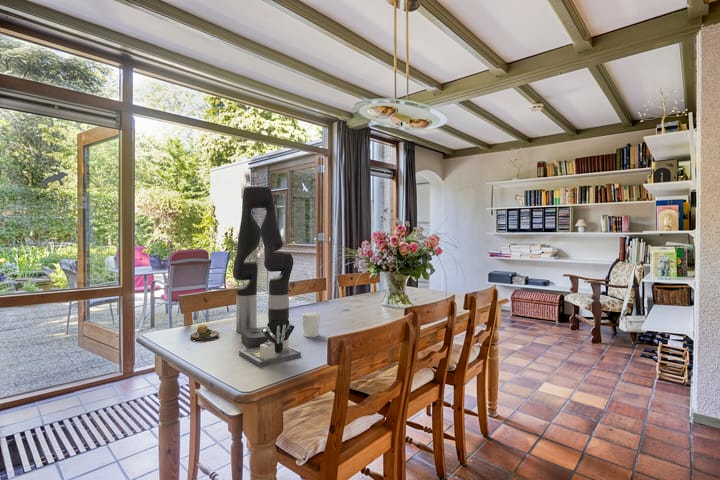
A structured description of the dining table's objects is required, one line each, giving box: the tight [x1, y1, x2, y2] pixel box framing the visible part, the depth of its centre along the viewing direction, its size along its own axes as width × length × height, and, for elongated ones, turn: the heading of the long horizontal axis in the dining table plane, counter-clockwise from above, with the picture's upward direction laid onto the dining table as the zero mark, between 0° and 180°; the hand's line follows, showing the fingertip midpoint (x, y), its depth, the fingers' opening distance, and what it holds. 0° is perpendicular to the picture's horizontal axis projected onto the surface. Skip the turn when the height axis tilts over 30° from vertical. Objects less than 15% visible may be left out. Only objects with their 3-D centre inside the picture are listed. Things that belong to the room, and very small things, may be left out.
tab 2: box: [283, 338, 289, 350], centre depth 146 cm, size 4×4×5 cm
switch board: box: [238, 345, 302, 368], centre depth 143 cm, size 16×17×2 cm
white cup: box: [302, 311, 321, 338], centre depth 171 cm, size 8×8×10 cm
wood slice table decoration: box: [190, 324, 220, 342], centre depth 165 cm, size 12×12×8 cm
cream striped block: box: [260, 342, 275, 360], centre depth 136 cm, size 4×4×5 cm
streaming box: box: [241, 326, 272, 349], centre depth 158 cm, size 14×14×5 cm
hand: (278, 352), depth 139 cm, fingers closed
